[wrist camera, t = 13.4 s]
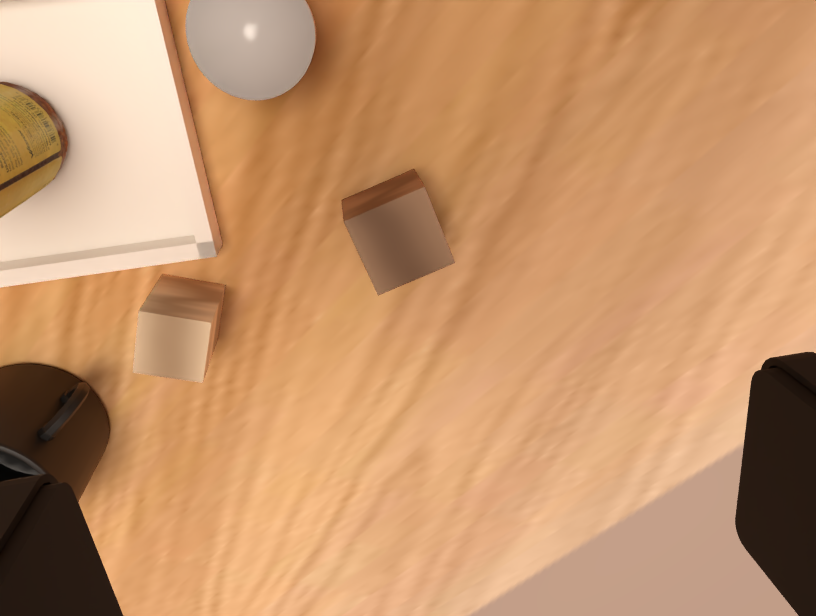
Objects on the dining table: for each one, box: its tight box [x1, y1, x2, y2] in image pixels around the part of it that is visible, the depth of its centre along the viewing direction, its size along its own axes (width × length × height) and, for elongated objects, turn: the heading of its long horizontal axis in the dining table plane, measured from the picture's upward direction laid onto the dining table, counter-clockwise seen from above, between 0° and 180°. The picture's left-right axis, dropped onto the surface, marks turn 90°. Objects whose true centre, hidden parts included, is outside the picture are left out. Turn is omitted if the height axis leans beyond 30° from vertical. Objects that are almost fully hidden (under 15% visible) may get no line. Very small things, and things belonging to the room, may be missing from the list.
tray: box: [0, 0, 223, 287], centre depth 37 cm, size 20×16×2 cm
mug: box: [0, 364, 109, 501], centre depth 41 cm, size 9×12×9 cm
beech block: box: [133, 274, 226, 383], centre depth 41 cm, size 4×4×6 cm
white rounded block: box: [186, 0, 316, 100], centre depth 35 cm, size 6×6×7 cm
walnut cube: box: [342, 169, 455, 295], centre depth 41 cm, size 5×5×5 cm
